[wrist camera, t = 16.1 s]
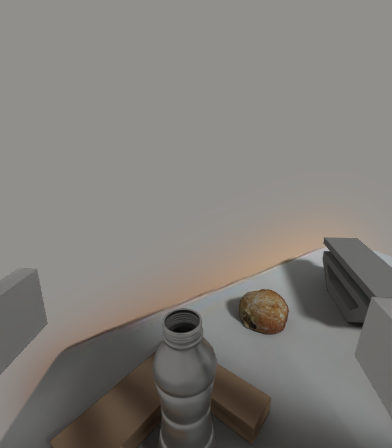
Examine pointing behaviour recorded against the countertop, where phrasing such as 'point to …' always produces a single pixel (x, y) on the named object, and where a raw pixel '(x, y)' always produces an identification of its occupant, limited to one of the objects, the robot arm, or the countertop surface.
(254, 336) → the countertop surface
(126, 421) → the notched board
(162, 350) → the plastic bottle
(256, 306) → the bread roll
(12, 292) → the robot arm
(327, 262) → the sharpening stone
